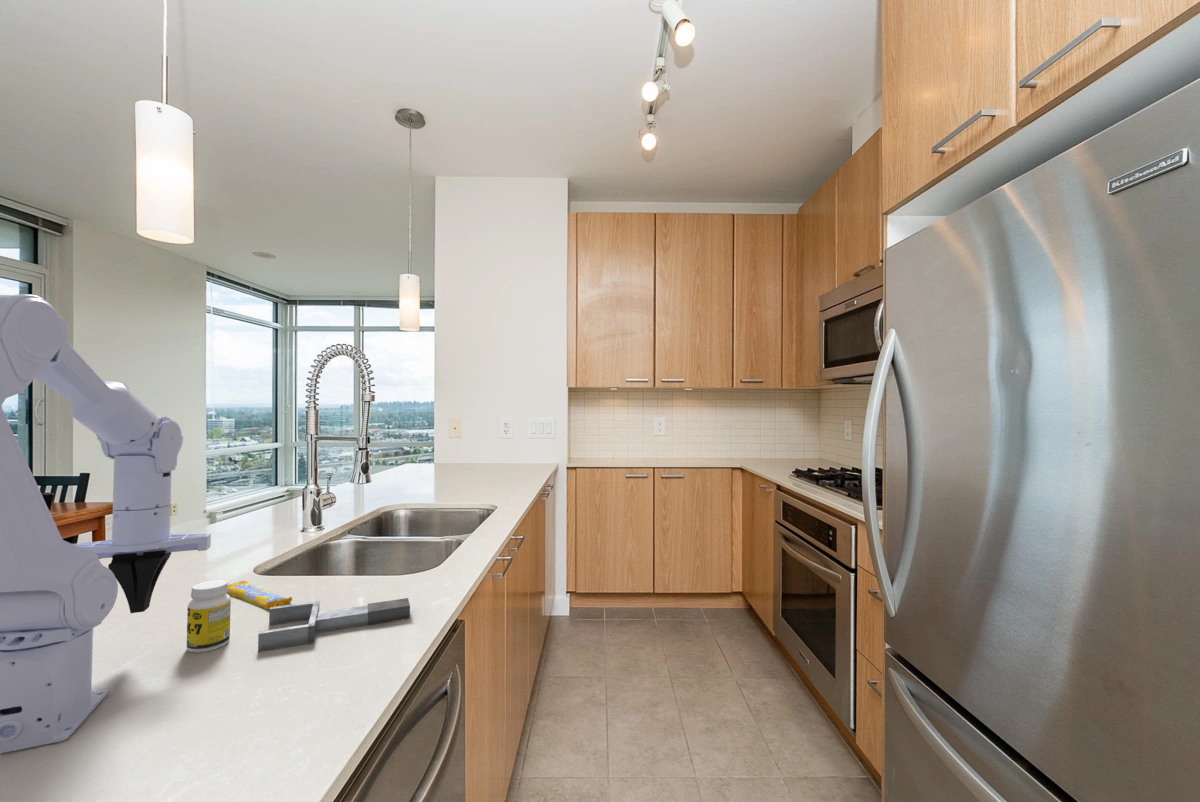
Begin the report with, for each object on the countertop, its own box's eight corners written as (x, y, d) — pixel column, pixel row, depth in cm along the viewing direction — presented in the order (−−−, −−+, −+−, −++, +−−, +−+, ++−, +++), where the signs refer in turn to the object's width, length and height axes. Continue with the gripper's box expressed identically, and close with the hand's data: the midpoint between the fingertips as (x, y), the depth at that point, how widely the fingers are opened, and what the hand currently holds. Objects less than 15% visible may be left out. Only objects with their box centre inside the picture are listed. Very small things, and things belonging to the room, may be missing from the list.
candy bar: (295, 606, 85) (295, 595, 85) (268, 615, 82) (268, 603, 82) (246, 588, 94) (246, 577, 94) (219, 594, 91) (220, 584, 91)
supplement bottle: (179, 648, 69) (180, 586, 69) (218, 635, 73) (220, 576, 73) (197, 656, 67) (199, 592, 67) (236, 642, 71) (238, 582, 71)
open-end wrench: (411, 626, 77) (412, 610, 77) (257, 651, 68) (258, 633, 68) (406, 603, 86) (406, 589, 86) (269, 623, 77) (270, 607, 78)
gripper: (217, 498, 74) (215, 591, 74) (84, 505, 68) (81, 607, 68) (203, 506, 68) (201, 609, 67) (55, 515, 61) (52, 628, 61)
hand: (140, 609), depth 67 cm, fingers closed
